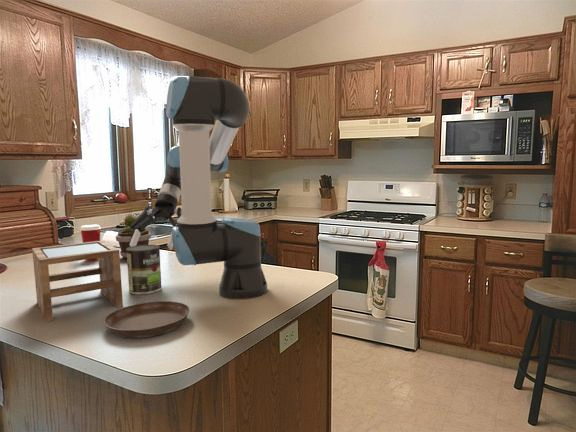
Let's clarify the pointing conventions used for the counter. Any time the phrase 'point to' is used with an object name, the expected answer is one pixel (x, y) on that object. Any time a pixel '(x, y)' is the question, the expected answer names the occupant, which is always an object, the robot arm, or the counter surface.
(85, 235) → the coffee cup
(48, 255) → the lid
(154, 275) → the coffee can
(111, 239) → the crystal
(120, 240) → the flowerpot
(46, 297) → the wooden stand
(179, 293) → the counter surface
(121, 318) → the plant saucer
